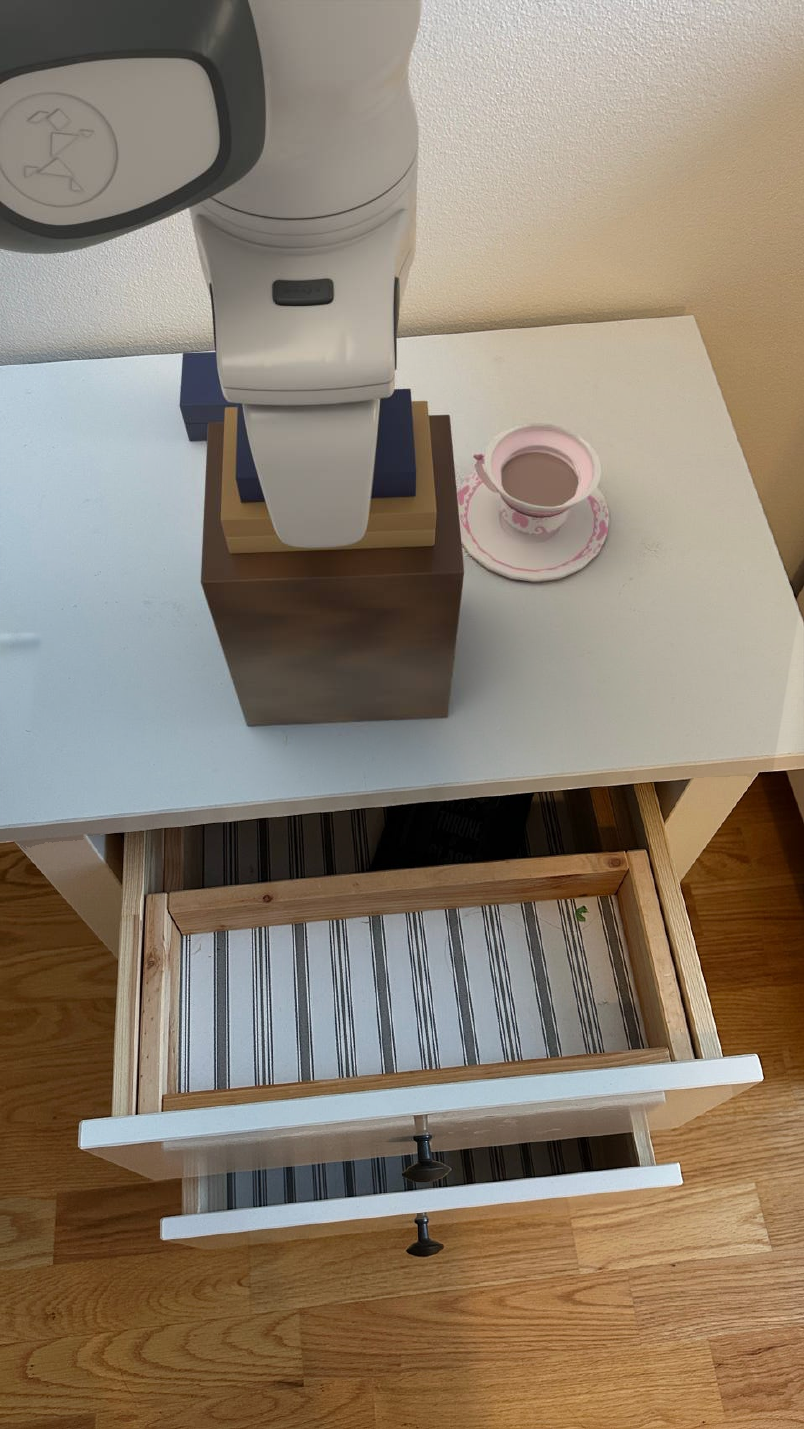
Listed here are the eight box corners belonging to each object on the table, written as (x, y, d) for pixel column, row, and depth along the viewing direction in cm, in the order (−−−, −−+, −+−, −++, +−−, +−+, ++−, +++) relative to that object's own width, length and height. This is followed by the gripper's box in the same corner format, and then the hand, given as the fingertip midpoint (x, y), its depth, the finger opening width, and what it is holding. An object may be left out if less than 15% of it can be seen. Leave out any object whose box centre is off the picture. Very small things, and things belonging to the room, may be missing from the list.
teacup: (622, 479, 77) (640, 424, 72) (588, 601, 72) (604, 553, 67) (476, 442, 79) (482, 386, 73) (433, 560, 74) (436, 509, 68)
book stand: (246, 726, 68) (200, 582, 52) (249, 592, 73) (207, 422, 56) (447, 718, 68) (464, 572, 52) (437, 585, 73) (449, 414, 57)
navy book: (240, 503, 50) (234, 478, 48) (242, 420, 53) (237, 393, 51) (415, 497, 50) (416, 471, 49) (410, 415, 53) (410, 388, 51)
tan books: (229, 554, 52) (220, 519, 50) (232, 445, 56) (224, 407, 53) (434, 546, 53) (436, 512, 50) (425, 438, 56) (427, 400, 53)
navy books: (189, 441, 79) (179, 405, 75) (192, 389, 81) (182, 352, 78) (301, 437, 79) (296, 401, 75) (300, 386, 81) (296, 349, 78)
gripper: (230, 50, 43) (267, 306, 55) (215, 408, 34) (263, 617, 46) (374, 47, 43) (379, 303, 55) (397, 402, 34) (396, 612, 47)
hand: (326, 448), depth 51 cm, fingers open, 6 cm apart
